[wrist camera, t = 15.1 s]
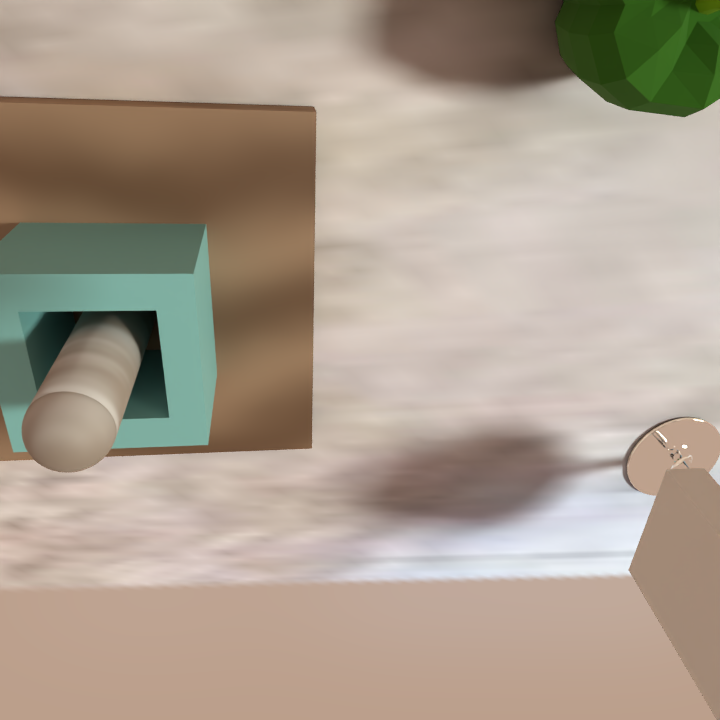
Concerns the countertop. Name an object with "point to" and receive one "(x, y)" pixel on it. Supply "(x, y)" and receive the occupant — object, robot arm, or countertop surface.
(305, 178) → the post board
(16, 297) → the bead
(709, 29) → the bell pepper
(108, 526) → the countertop surface
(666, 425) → the wineglass
